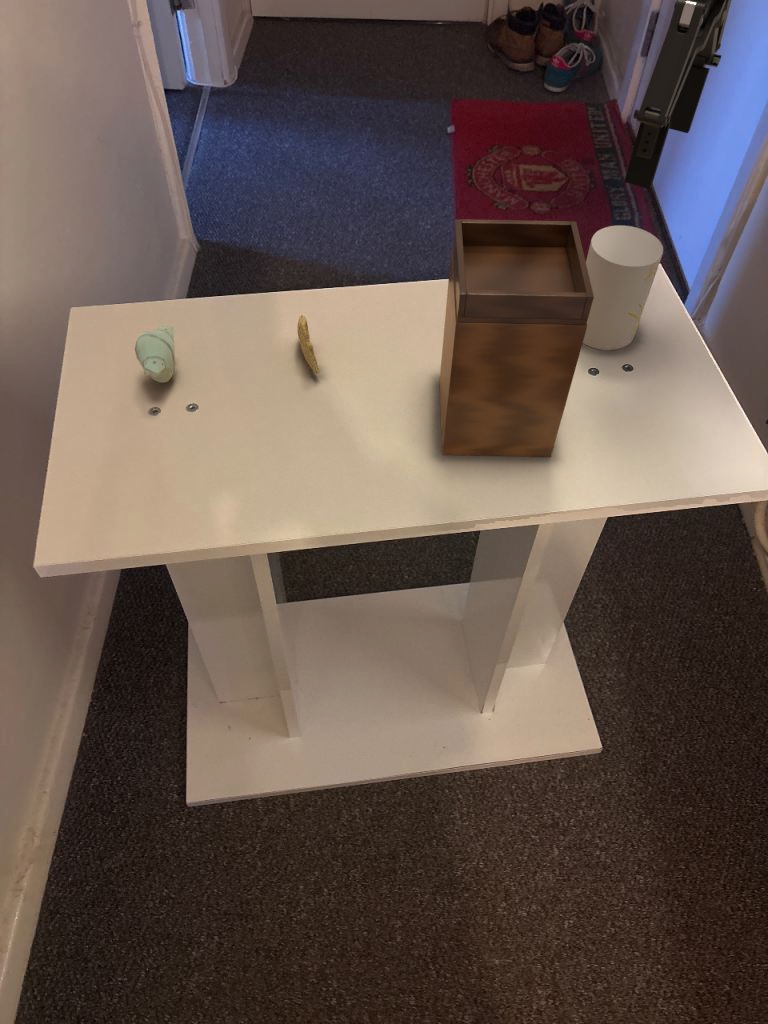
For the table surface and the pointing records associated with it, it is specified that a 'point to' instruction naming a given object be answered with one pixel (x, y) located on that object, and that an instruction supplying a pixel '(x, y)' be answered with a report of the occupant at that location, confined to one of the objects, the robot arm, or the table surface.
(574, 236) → the holder
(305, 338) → the pastry
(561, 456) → the table surface
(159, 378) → the pale green rounded piece
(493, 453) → the stand
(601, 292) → the white patterned cylinder
